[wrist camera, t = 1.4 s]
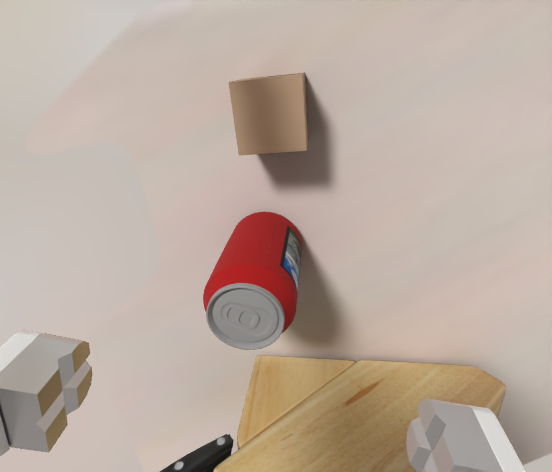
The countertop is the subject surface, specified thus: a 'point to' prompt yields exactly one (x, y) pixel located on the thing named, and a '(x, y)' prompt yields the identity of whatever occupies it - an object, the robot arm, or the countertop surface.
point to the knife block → (336, 415)
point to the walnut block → (270, 114)
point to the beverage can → (255, 282)
